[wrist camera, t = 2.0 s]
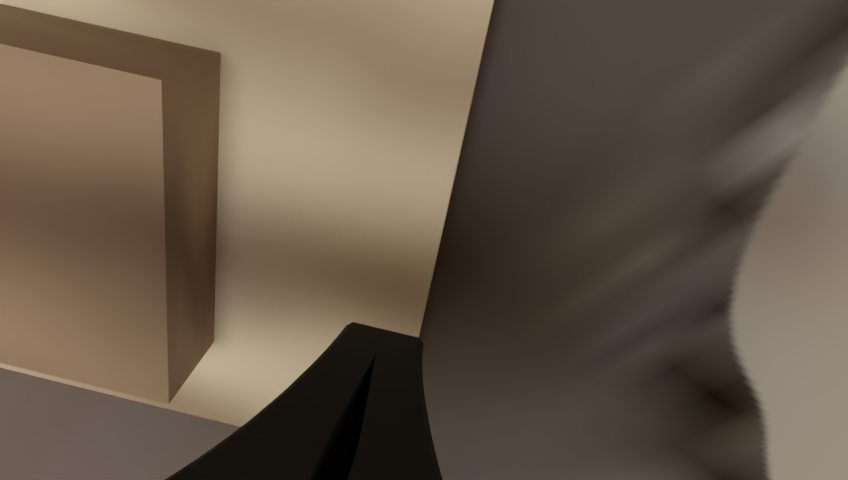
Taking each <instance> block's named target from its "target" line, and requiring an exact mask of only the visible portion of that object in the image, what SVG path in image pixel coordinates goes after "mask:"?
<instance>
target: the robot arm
mask: <svg viewBox="0 0 848 480" xmlns="http://www.w3.org/2000/svg"><path fill="white" fill-rule="evenodd" d="M422 349H423V343H422V342H421V340H420V339H419V337H414V336H410V335H406V334H402V333H397V332H393V331H389V330H385V329H381V328H376V327H372V326H368V325H364V324H360V323H355V322H352V323H350V324H348V325H346V326H345V328H344V329H343V330H342V331H341V333H340V334H339V335H338V336H337V338H336V339H335V340H334V341H333V342H332V343H331V344H330V346H329V347H328V348H327V349H326V350H325V351H324V352H323V353H322V354H321V355H320V356H319V357H318V358H317V360H316V361H315V362H314V363H313V364H312V365H311V366H310V367H309V368H308V369H307V370H306V371H305V372H303V373H302V374H301V375H300V376H299V377H298V378H297V379H296V380H295V381H294V382H293V383H292V384H291V385H290V386H289V387H288V388H287V389H286V390H285V391H283V392H282V393H281V394H280V395H279V396H278V397H277V398H275V399H274V400H273V401H272V402H271V403H270V404H268V405H267V406H266V407H265V408H264V409H262V410H261V411H260V412H259V413H258V414H257V415H255V416H254V417H253V418H252V419H251V420H249V421H248V422H247V423H246V424H244V425H243V426H242V427H241V428H239V429H238V430H237V431H235V432H234V433H233V434H231V435H230V436H229V437H227V438H226V439H225V440H223V441H222V442H221V443H219V444H218V445H216V446H215V447H214V448H212V449H211V450H209V451H208V452H207V453H205V454H204V455H202V456H201V457H199V458H198V459H196V460H195V461H193V462H192V463H190V464H189V465H187V466H186V467H184V468H182V469H181V470H179V471H178V472H176V473H175V474H173V475H172V476H170V477H168V478H167V479H165V480H442V476H441V473H440V469H439V465H438V461H437V457H436V453H435V450H434V445H433V441H432V436H431V431H430V426H429V420H428V415H427V409H426V403H425V396H424V388H423V377H422Z"/></svg>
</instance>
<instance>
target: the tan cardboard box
mask: <svg viewBox="0 0 848 480" xmlns="http://www.w3.org/2000/svg"><path fill="white" fill-rule="evenodd" d="M220 61H221V53H220V52H215V51H211V50H206V49H202V48H198V47H193V46H189V45H184V44H180V43H175V42H171V41H166V40H162V39H157V38H153V37H148V36H144V35H139V34H135V33H130V32H126V31H121V30H117V29H112V28H108V27H103V26H99V25H94V24H90V23H86V22H81V21H77V20H72V19H68V18H63V17H59V16H54V15H50V14H45V13H41V12H36V11H32V10H27V9H23V8H18V7H14V6H9V5H5V4H0V363H3V364H7V365H12V366H16V367H20V368H24V369H28V370H32V371H36V372H40V373H44V374H48V375H52V376H56V377H60V378H64V379H68V380H72V381H76V382H80V383H84V384H89V385H93V386H97V387H101V388H105V389H109V390H113V391H117V392H121V393H125V394H129V395H133V396H137V397H141V398H145V399H149V400H153V401H157V402H161V403H166V404H169V403H170V402H171V401H172V399H173V398H174V396H175V395H176V394H177V392H178V391H179V390H180V388H181V387H182V385H183V384H184V383H185V381H186V380H187V378H188V377H189V376H190V374H191V373H192V372H193V370H194V369H195V367H196V366H197V365H198V363H199V362H200V360H201V359H202V358H203V356H204V355H205V354H206V352H207V351H208V349H209V348H210V347H211V345H212V344H213V343H214V317H215V274H216V231H217V189H218V146H219V103H220Z"/></svg>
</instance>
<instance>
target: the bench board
mask: <svg viewBox="0 0 848 480" xmlns="http://www.w3.org/2000/svg"><path fill="white" fill-rule="evenodd" d="M494 2H495V0H0V4H5V5H9V6H14V7H18V8H23V9H27V10H32V11H36V12H41V13H45V14H50V15H54V16H59V17H63V18H68V19H72V20H77V21H81V22H86V23H90V24H94V25H99V26H103V27H108V28H112V29H117V30H121V31H126V32H130V33H135V34H139V35H144V36H148V37H153V38H157V39H162V40H166V41H171V42H175V43H180V44H184V45H189V46H193V47H198V48H202V49H206V50H211V51H215V52H220V53H221V61H220V103H219V146H218V189H217V231H216V274H215V317H214V343H213V344H212V345H211V347H210V348H209V349H208V351H207V352H206V354H205V355H204V356H203V358H202V359H201V360H200V362H199V363H198V365H197V366H196V367H195V369H194V370H193V372H192V373H191V374H190V376H189V377H188V378H187V380H186V381H185V383H184V384H183V385H182V387H181V388H180V390H179V391H178V392H177V394H176V395H175V396H174V398H173V399H172V401H171V402H170V403H169V404H166V403H161V402H157V401H153V400H149V399H145V398H141V397H137V396H133V395H129V394H125V393H121V392H117V391H113V390H109V389H105V388H101V387H97V386H93V385H89V384H84V383H80V382H76V381H72V380H68V379H64V378H60V377H56V376H52V375H48V374H44V373H40V372H36V371H32V370H28V369H24V368H20V367H16V366H12V365H7V364H3V363H0V368H4V369H8V370H13V371H17V372H21V373H25V374H29V375H33V376H37V377H41V378H45V379H49V380H53V381H57V382H61V383H65V384H69V385H73V386H77V387H81V388H85V389H89V390H93V391H97V392H102V393H106V394H110V395H114V396H118V397H122V398H126V399H130V400H134V401H138V402H142V403H146V404H150V405H154V406H158V407H162V408H166V409H170V410H174V411H178V412H182V413H187V414H191V415H195V416H199V417H203V418H207V419H211V420H215V421H219V422H223V423H227V424H231V425H235V426H239V427H242V426H243V425H244V424H246V423H247V422H248V421H249V420H251V419H252V418H253V417H254V416H255V415H257V414H258V413H259V412H260V411H261V410H262V409H264V408H265V407H266V406H267V405H268V404H270V403H271V402H272V401H273V400H274V399H275V398H277V397H278V396H279V395H280V394H281V393H282V392H283V391H285V390H286V389H287V388H288V387H289V386H290V385H291V384H292V383H293V382H294V381H295V380H296V379H297V378H298V377H299V376H300V375H301V374H302V373H303V372H305V371H306V370H307V369H308V368H309V367H310V366H311V365H312V364H313V363H314V362H315V361H316V360H317V358H318V357H319V356H320V355H321V354H322V353H323V352H324V351H325V350H326V349H327V348H328V347H329V346H330V344H331V343H332V342H333V341H334V340H335V339H336V338H337V336H338V335H339V334H340V333H341V331H342V330H343V329H344V328H345V326H346V325H348V324H350V323H352V322H355V323H360V324H364V325H368V326H372V327H376V328H381V329H385V330H389V331H393V332H397V333H402V334H406V335H410V336H414V337H419V335H420V331H421V326H422V322H423V317H424V313H425V308H426V304H427V299H428V295H429V291H430V286H431V282H432V277H433V273H434V268H435V264H436V259H437V255H438V251H439V246H440V242H441V237H442V233H443V228H444V224H445V220H446V215H447V211H448V206H449V202H450V197H451V193H452V188H453V184H454V180H455V175H456V171H457V166H458V162H459V157H460V153H461V148H462V144H463V140H464V135H465V131H466V126H467V122H468V117H469V113H470V108H471V104H472V100H473V95H474V91H475V86H476V82H477V77H478V73H479V68H480V64H481V60H482V55H483V51H484V46H485V42H486V37H487V33H488V28H489V24H490V20H491V15H492V11H493V6H494Z"/></svg>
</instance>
